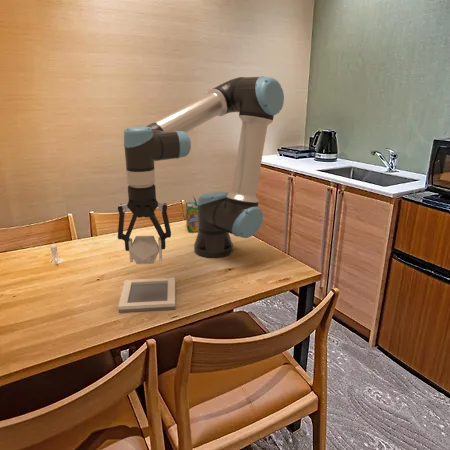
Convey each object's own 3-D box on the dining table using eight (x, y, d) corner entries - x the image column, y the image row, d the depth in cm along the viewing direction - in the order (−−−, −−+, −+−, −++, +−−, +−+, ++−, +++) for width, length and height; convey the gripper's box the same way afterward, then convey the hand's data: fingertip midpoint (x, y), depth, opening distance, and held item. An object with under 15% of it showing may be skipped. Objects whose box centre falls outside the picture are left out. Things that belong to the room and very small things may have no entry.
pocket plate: (175, 283, 128) (175, 277, 127) (175, 309, 113) (175, 303, 112) (125, 285, 126) (124, 280, 125) (118, 312, 111) (118, 306, 111)
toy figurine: (62, 257, 147) (59, 238, 144) (66, 265, 140) (63, 246, 138) (46, 260, 144) (43, 241, 142) (50, 268, 138) (47, 249, 135)
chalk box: (209, 231, 173) (208, 199, 168) (188, 233, 171) (187, 200, 166) (205, 224, 181) (205, 193, 176) (186, 225, 180) (185, 194, 175)
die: (147, 273, 110) (165, 243, 110) (120, 257, 109) (138, 228, 110) (150, 269, 118) (166, 242, 119) (125, 255, 118) (142, 228, 118)
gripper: (178, 180, 112) (181, 253, 120) (105, 182, 110) (112, 256, 118) (179, 187, 105) (181, 263, 113) (100, 188, 103) (108, 266, 111)
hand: (146, 259), depth 115 cm, fingers closed on die, 8 cm apart
